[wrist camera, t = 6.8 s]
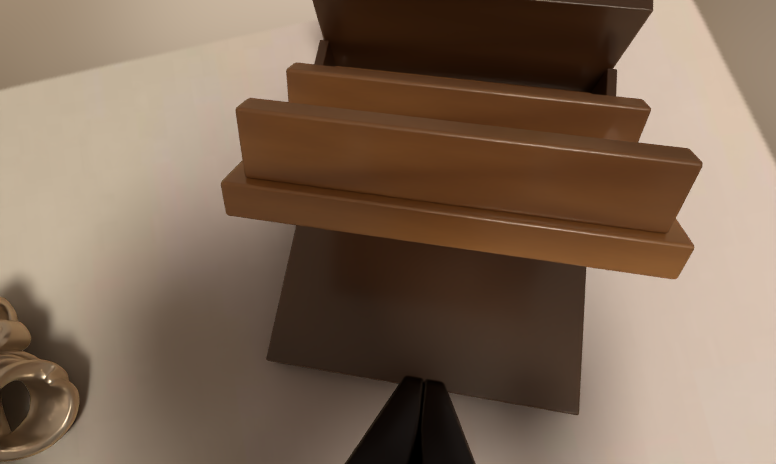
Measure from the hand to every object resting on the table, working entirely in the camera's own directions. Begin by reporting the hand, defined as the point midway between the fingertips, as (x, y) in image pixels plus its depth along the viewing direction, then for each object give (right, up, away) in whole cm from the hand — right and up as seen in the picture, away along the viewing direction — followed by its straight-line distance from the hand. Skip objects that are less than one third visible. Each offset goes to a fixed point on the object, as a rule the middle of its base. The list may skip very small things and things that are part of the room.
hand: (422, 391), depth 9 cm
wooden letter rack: (+1, +6, +6) cm, 9 cm away
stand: (+2, +4, +10) cm, 11 cm away
